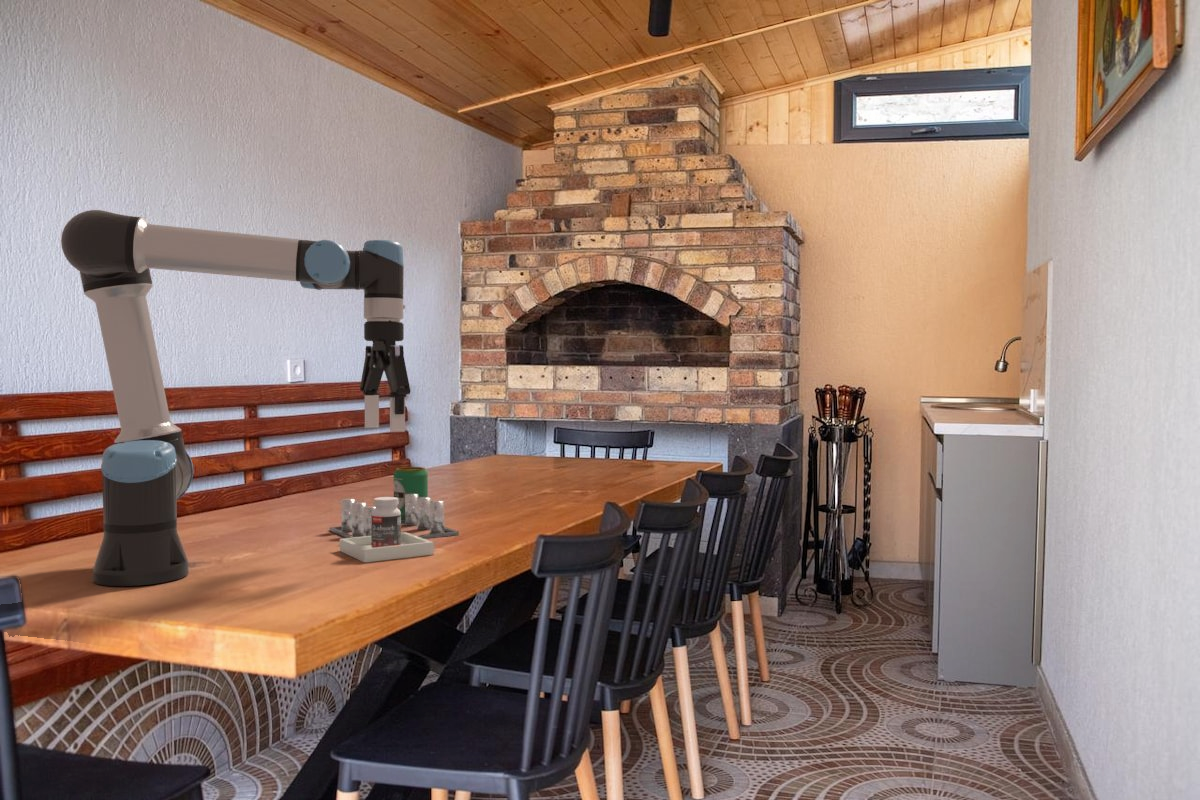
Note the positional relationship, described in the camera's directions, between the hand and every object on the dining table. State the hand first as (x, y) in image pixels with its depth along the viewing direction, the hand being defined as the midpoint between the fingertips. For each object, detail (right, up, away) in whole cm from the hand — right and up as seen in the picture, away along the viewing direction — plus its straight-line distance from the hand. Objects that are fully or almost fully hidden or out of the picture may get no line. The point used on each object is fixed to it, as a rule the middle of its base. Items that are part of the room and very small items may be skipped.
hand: (384, 429), depth 198 cm
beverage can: (-3, -23, +44) cm, 50 cm away
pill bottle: (0, -24, +1) cm, 24 cm away
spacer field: (-3, -23, +25) cm, 34 cm away
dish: (0, -24, +1) cm, 24 cm away
